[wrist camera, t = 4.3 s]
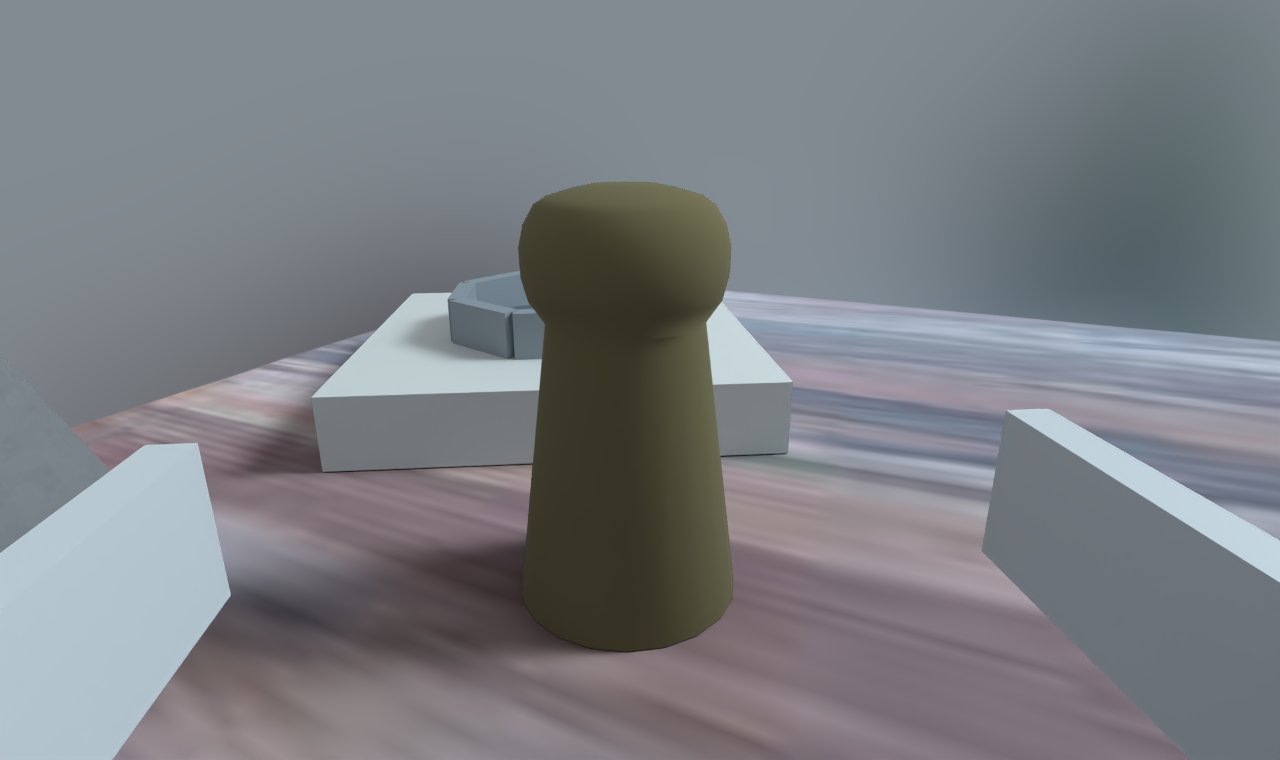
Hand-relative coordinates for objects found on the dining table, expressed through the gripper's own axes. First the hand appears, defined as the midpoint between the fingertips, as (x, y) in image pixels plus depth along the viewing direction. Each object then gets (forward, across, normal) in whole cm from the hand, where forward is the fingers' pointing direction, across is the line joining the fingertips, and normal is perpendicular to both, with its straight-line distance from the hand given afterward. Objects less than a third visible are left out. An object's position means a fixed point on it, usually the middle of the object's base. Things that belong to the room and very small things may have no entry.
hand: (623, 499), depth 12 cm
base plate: (+24, -1, -6) cm, 25 cm away
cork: (+7, +1, -7) cm, 10 cm away
